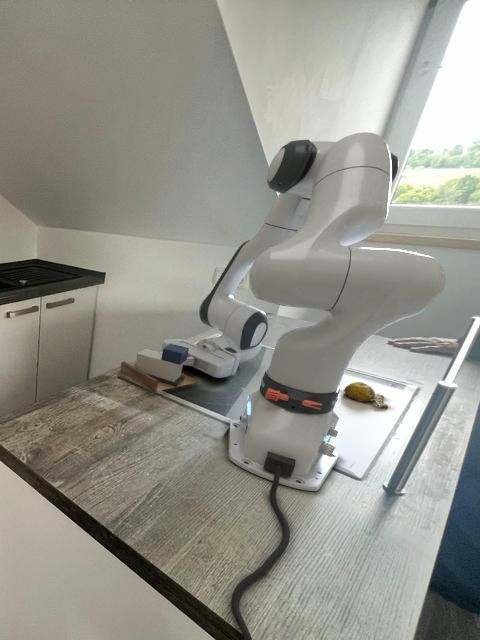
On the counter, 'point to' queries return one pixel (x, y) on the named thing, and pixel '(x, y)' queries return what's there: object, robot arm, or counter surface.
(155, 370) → the white block blue cap
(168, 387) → the shoe shelf
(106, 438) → the counter surface
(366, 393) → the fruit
